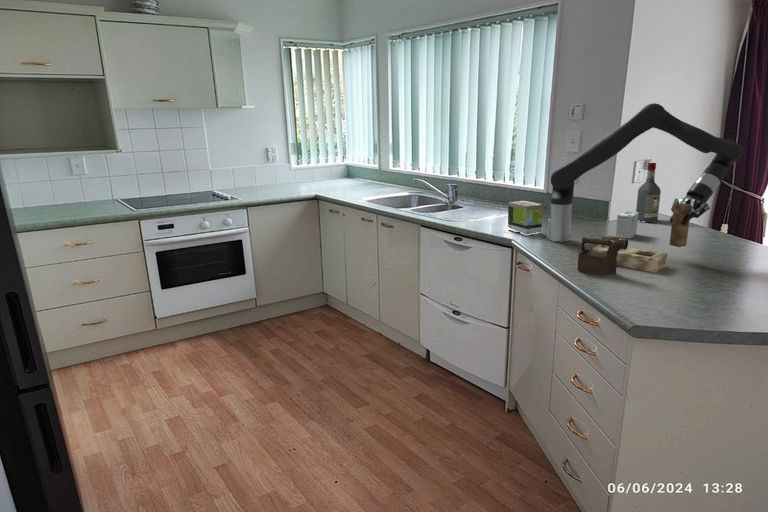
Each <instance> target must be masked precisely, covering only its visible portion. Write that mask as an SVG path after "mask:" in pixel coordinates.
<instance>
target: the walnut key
mask: <svg viewBox="0 0 768 512" xmlns="http://www.w3.org/2000/svg"><path fill="white" fill-rule="evenodd" d="M690 207H691V204H684V203H679V204H674V209H673V212H672V215H673V219H672V223H671V229H670V236H669V246H673V247H677V248H681V247H685V246H686V247H687V243H688V236H689V235H688V234H689V225H690V221H689V222H688V223H687V224H686V225H685V226H683V225H682V224H681V223H680V222H681V220H682V219H683V218H684V217H685V215H687V213H688V211H689V209H690Z"/></svg>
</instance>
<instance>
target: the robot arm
mask: <svg viewBox="0 0 768 512" xmlns="http://www.w3.org/2000/svg"><path fill="white" fill-rule="evenodd" d="M652 129H656V130H659V131H663V132H664V133H667V134H669V135H671V136H673V137H674V138H676V139H677V140H679V141H681V142H682V143H685V145H687V146H690V148H693V149H694V150H697V151H699V152H700V153H703V154H709V153H713V154H716V155H714V157H712V160H711V161H710V163H709V165H708V166H707V167H706V168H705V169H704V171H703V172H702V173H701V175H700V176H699V177H698V178H697V179H696V180H695V181H694V183H693V184H692V185H691V187H690V188H689V189H688V190H687V192H686V195H684V197H682V198H681V199H678V198H674V200H673V202H672V205H671V208H670V211H671V212H672V213H673V209H674V204H679V203H684V204H691V207H690V209H689V211H688V213H687V215H685V217H684V218H683V219H682V220H681V222H680V223H681V224H682V225H683V226H685V225H686V224H687V223H688V222H689V223H690V221H691V219H694V218H695V219H698V218H700V217H701V216H702V215H704V213H706V212H707V211H708V210H710V209H711V207H710V205H709V204H708V203H707V202H708V201H709V200H710V198H711V197H712V195H713V194H714V193H715V191H716V190H718V187H719V186H720V184H721V183H722V182H723V180H724V178H725V177H726V176H727V174H728V172H729V170H730V168H731V167H732V166H733V165H734V164H735V163H737V161H738V160H740V159H741V157H743V155H744V148H743V147H742V146H741V145H740V144H739V143H738V142H737V141H733V140H729V139H727V138H726V139H725V138H721V137H718V136H715V135H714V134H711V133H709V132H707V131H705V130H704V129H701V128H699V127H696V126H694V125H692V124H689V123H687V122H685V121H683V120H681V119H680V118H678V117H676V116H674V115H672V114H671V113H670V112H669V111H668V110H666V109H665V107H664V106H662V105H661V104H659V103H655V102H654V103H653V102H652V103H649V104H647V105H645V106H644V107H643V108H641V110H640V111H638V112H637V113H636V114H635V115H634V116H632V117H631V118H630V119H628V121H626V122H624V123H623V124H622V125H620V126H619V127H616V128H614V129H613V130H612V131H610V132H608V133H607V134H605V135H604V136H601V138H599V139H597V140H596V141H595V142H593V143H592V144H591V145H590V146H588V147H587V148H586V149H585V150H584V151H583V152H581V153H580V154H579V155H578V156H577V157H576V158H574V159H573V160H571V162H568V163H567V164H565V165H563V166H561V167H559V168H557V169H556V170H554V171H553V172H552V173H551V175H550V185H552V190H551V191H552V192H551V196H550V209H549V218H548V219H547V228H546V230H547V231H546V239H547V238H548V239H550V240H553V241H552V242H554V241H560V242H559V243H562V242H561V241H567V242H569V241H570V240H571V224H572V211H573V210H572V208H573V207H572V206H573V197H574V191H575V190H574V189H575V181H577V180H578V179H579V178H580V177H581V176H583V175H584V174H585V173H588V172H589V171H590V170H591V171H592V169H595V168H596V167H598V166H600V165H601V164H603V163H605V162H607V161H608V160H610V159H611V158H613V157H615V156H616V155H617V154H619V152H621V151H622V150H623V149H625V147H627V146H628V145H629V144H630V143H631V142H633V140H635V139H636V138H637V137H639V136H641V135H642V134H644V133H646V132H648V131H650V130H652ZM672 219H673V214H672V215H671V216H670V217H669V222H670V223H671V224H672ZM548 239H547V240H548ZM550 240H549V241H550Z"/></svg>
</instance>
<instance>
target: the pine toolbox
mask: <svg viewBox="0 0 768 512" xmlns="http://www.w3.org/2000/svg"><path fill="white" fill-rule="evenodd" d="M601 240H610V241H612V242H614V241H617V240H620V238H619V237H616V236H612V235H605V234H602V235H601ZM608 248H609V246H606V245H596V247H593V248H592V250H591V251H595V252H600V253H607V250H608ZM616 259H617V267H618V266H619V267H624V268H629V269H635V270H640V271H646V272H650V273H655V274H656V273H658V272H660V271H661V270H663V269H664V268H666V267H667V261H668V252H667V253H666V252H660V251H653V250H648V249H641V248H634V247H629V246H628V247H627V249H626V250H624V249H620V250H619V251H618V254H617V258H616Z"/></svg>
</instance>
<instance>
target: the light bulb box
mask: <svg viewBox="0 0 768 512" xmlns="http://www.w3.org/2000/svg"><path fill="white" fill-rule="evenodd" d="M638 213H639V212H636V211H625V210H624V211H622V212H620V213H619V214H618V215H617V216H616V217H617V219H616V230H615V237H620V238H619V239H625V238H629V239H628V240H631V239H632V238H634V237H635V236H636V235H637V229H638ZM634 235H635V236H634ZM630 238H631V239H630Z"/></svg>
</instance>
